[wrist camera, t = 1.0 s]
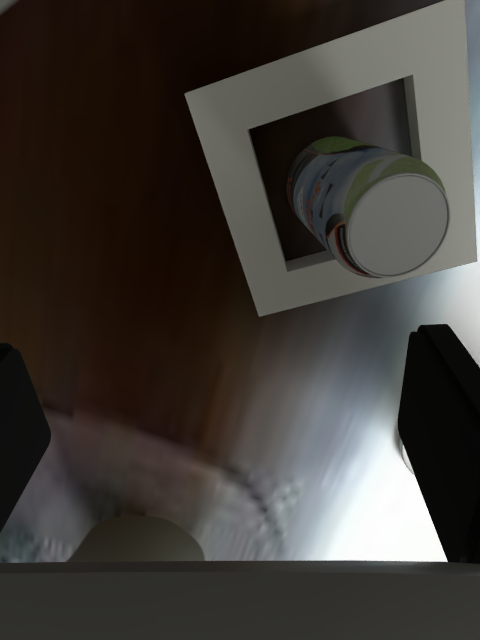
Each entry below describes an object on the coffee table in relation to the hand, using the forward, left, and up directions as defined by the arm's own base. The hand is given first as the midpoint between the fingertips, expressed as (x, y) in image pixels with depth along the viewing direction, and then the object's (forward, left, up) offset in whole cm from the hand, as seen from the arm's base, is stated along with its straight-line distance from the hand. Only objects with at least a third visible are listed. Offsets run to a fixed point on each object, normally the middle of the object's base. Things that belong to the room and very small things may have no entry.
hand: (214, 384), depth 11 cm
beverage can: (-2, -6, -23) cm, 24 cm away
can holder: (-2, -6, -23) cm, 24 cm away
